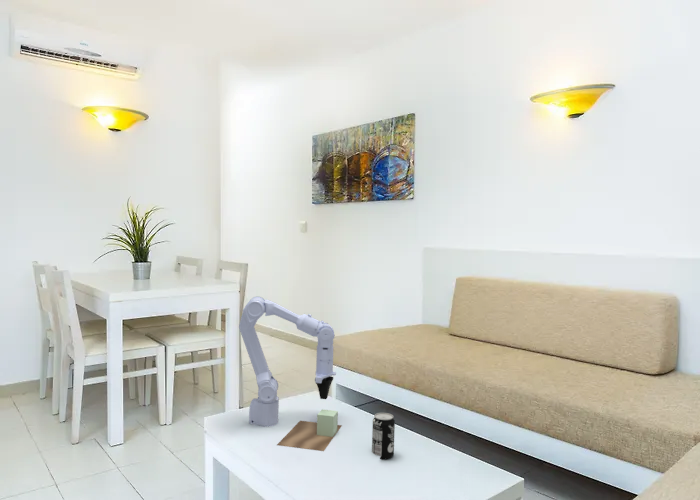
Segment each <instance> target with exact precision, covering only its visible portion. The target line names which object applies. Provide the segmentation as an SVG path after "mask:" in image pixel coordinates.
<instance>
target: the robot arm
mask: <svg viewBox="0 0 700 500" xmlns="http://www.w3.org/2000/svg"><path fill="white" fill-rule="evenodd" d="M264 314H265V315H264ZM263 315H264V316H265V317H269V316H276V317H278V318H281V319H283V320H285V321H287V322H290V323H292V324H295V327H296V329H297V330H298V331H301V332H303V333H305V334H308V335H310V336H312V337H313V338H315V337H317V345H316V364H315V365H316V366H315V378H314V382H315V384H316V386H317V390H318V393H319V394H318V395H319V399H320V400H327V399H328V396H329V393H330V387H331V385H332V383H333V381H334V376H336V375H337V372H336V371H334V339H335V331H334V328H333V327H332V325H331V324H329V323H328V322H325V321H324V320H318V319H316V318H314V317H313V316H312V314H310V313H307V314H306V313H303V314H298V313H296V312H293V311H292V310H290V309H288V308H286V307H284V306H282V305H280V304H278V303H277V302H274V301H272V300H270V299H267V298H265V299H264V298H263V297H262V296H253V297H252V298H251V299H250V300H249V301H248V302H247V303H246V305H245V306H244V307H243V310H242V312H241V317H240V321H239V324H238V325H239V326H238V328H239V332H240V333H241V337H242V340H243V343H244V345H245V348H246V351H247V354H248V357H249V360H250V363H251V366H252V368H253V371H254V374H255V377H256V384H257V388H258V390H257V391H258V392H257V398H252V400H251V401H250V404H249V410H248V412H249V415H248V417H249V418H248V424H249V425H255V426H256V425H257V426H261V427H274V426H276V425H277V424H279V406H280V405H279V402H280V401H279V400H280V398H279V397H278V390H279V383H278V381H277V379H276V378H275V377H274V376H273V373H272V372H271V369H270V368H269V366H268V363H267V360H266V357H265V354H264V351H263V348H262V346H261V342H260V340H259V337H258V334H257V331H256V328H255V326H256V324H257V322H258V320H260V318H261V317H262V316H263Z"/></svg>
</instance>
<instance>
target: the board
mask: <svg viewBox="0 0 700 500" xmlns="http://www.w3.org/2000/svg"><path fill="white" fill-rule="evenodd" d="M341 427H343V425H342V424H338V425H337V432H336V433H335V435H334V436H333V437H329V436H321V435H317V421H316V422H314V421H307V420H299V421H298V422H297V423H296V424H295V425H294V426H293V427H292V429H290V430H289V431H288V432H287V433H286V435H285V436H284V437H283V438H281V440H280V441H279V442H278V443H277V444H276V446H280V447H286V448H287V447H289V448H295V449H302V450H303V449H305V450H311V451H320V452H324V451H326V449H327V447H328V446H329V444H330V443H331V442H332V441H333V439H334V438H335V436H336V435H337V433H338V432H339V430H340V429H341Z"/></svg>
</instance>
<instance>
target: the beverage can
mask: <svg viewBox="0 0 700 500" xmlns="http://www.w3.org/2000/svg"><path fill="white" fill-rule="evenodd" d="M395 425H396V421H395V418H394V415H393V414H391V413H388V412H377V413H375V414H374V417H373V419H372V432H371V433H372V435H371V438H372V439H371V453H372V454H373V455H375V456H379V460H389V459H391V458H392V457H393V456H394V454H395V428H396V427H395Z"/></svg>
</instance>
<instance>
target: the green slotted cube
mask: <svg viewBox="0 0 700 500" xmlns="http://www.w3.org/2000/svg"><path fill="white" fill-rule="evenodd" d="M338 415H339V411H338V410H330V409H324V408H322V409H321V410H320V411H319V412H318V413H317V414H316V417H317V418H316V419H317V420H316V422H317V435H321V436H329V437H333V436H334V435H335V433H336V432H337V425H339V424H338V418H339V417H338ZM337 433H338V432H337ZM337 433H336V434H337ZM335 436H336V435H335ZM335 436H334V437H335Z"/></svg>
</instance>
